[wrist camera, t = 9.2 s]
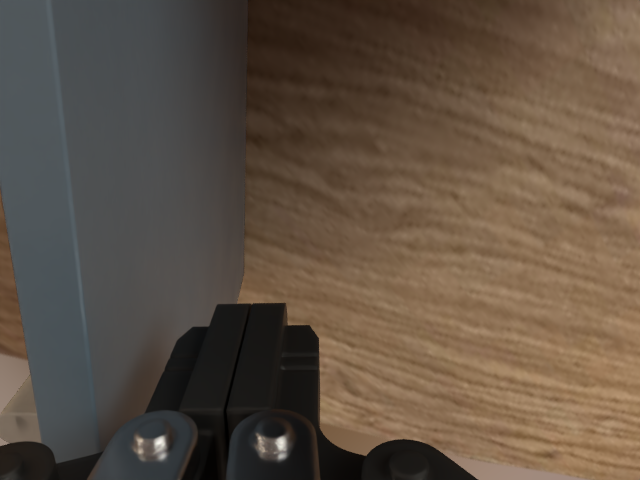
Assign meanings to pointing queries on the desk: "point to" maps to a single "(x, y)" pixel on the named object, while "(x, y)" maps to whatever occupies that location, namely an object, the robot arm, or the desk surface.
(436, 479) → the robot arm
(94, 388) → the cupboard door
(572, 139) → the desk surface
